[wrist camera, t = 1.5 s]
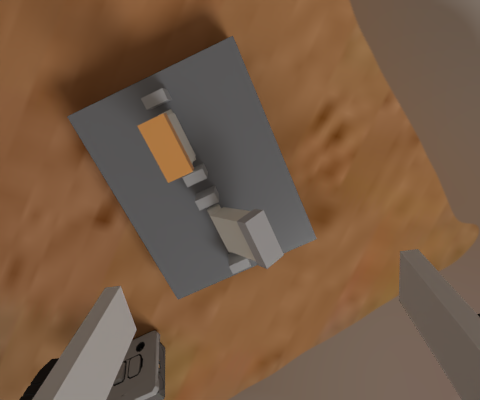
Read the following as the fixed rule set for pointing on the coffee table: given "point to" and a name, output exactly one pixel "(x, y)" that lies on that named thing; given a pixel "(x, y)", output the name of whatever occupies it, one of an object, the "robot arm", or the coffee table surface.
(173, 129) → the breaker
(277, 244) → the breaker
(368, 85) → the coffee table surface
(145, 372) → the electrical switch
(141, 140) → the breaker panel
